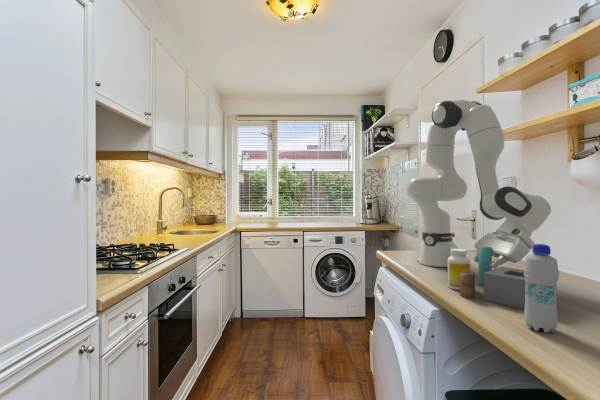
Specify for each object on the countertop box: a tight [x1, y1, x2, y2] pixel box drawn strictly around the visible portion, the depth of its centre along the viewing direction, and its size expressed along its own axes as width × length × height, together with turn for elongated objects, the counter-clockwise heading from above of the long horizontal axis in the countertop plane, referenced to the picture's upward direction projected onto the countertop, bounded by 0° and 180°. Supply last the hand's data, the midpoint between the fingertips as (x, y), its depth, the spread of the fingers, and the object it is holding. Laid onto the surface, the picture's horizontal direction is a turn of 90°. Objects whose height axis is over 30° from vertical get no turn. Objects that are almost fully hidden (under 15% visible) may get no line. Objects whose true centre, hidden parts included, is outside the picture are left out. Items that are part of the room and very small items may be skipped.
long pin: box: [477, 246, 493, 287], centre depth 112 cm, size 4×4×13 cm
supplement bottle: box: [447, 248, 471, 291], centre depth 109 cm, size 7×7×13 cm
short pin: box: [459, 272, 476, 299], centre depth 100 cm, size 4×4×7 cm
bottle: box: [522, 243, 560, 334], centre depth 76 cm, size 7×7×20 cm
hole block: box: [482, 266, 526, 310], centre depth 96 cm, size 13×13×8 cm
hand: (483, 263), depth 112 cm, fingers open, 8 cm apart
